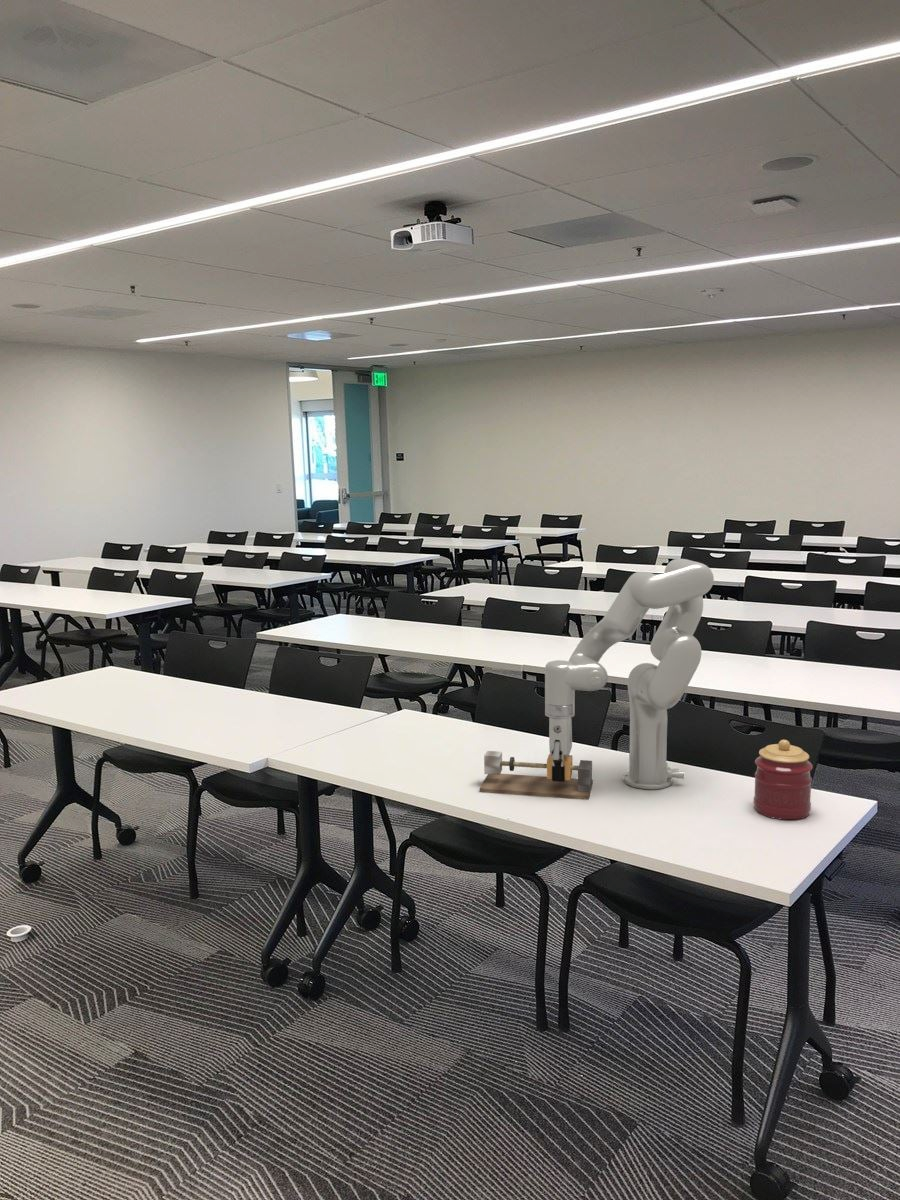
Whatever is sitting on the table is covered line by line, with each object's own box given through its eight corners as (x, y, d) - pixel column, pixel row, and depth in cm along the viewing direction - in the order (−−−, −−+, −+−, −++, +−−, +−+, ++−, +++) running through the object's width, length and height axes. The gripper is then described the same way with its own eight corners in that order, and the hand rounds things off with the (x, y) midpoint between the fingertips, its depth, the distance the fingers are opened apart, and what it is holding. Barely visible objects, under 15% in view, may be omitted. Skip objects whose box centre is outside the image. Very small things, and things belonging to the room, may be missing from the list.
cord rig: (592, 783, 238) (593, 752, 237) (588, 799, 226) (588, 767, 225) (488, 776, 245) (488, 746, 243) (479, 791, 233) (479, 760, 232)
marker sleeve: (572, 773, 235) (572, 755, 234) (570, 780, 230) (570, 761, 230) (549, 772, 237) (549, 753, 236) (546, 778, 232) (546, 760, 231)
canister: (806, 824, 209) (809, 751, 206) (748, 815, 215) (750, 743, 212) (814, 806, 220) (817, 736, 217) (758, 797, 226) (761, 729, 223)
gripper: (570, 719, 222) (570, 789, 224) (577, 701, 238) (577, 767, 241) (540, 717, 223) (540, 787, 226) (549, 699, 240) (549, 765, 243)
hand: (559, 776), depth 233 cm, fingers closed on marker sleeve, 5 cm apart
